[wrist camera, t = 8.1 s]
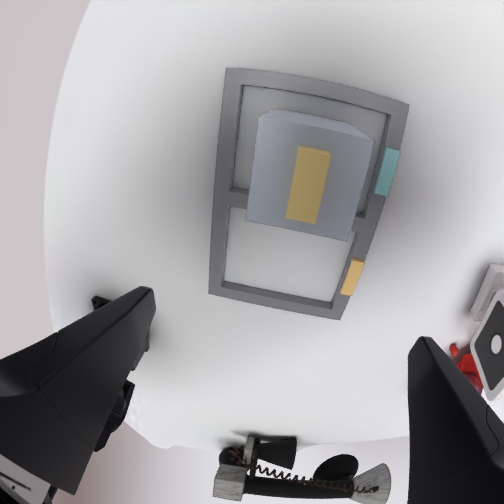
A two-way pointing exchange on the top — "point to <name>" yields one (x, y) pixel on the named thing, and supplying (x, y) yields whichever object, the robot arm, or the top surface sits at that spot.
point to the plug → (307, 173)
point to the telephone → (283, 454)
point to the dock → (239, 197)
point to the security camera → (490, 332)
